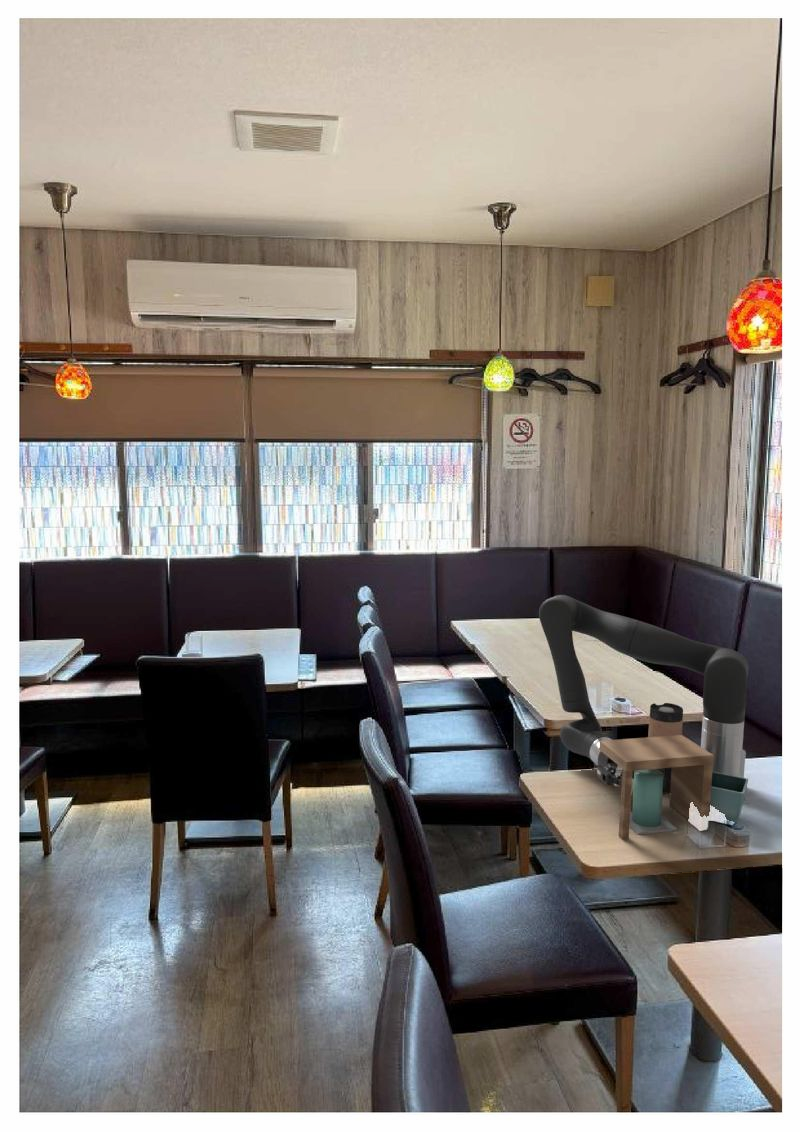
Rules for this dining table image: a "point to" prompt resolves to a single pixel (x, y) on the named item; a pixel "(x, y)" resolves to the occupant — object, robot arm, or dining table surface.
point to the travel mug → (665, 727)
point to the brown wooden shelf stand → (664, 752)
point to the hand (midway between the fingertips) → (646, 786)
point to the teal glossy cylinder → (647, 797)
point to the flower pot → (728, 794)
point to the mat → (662, 827)
